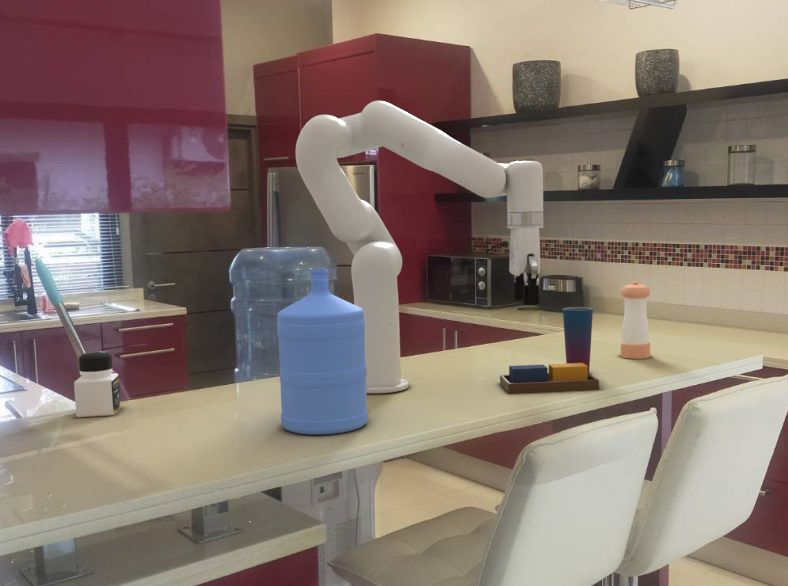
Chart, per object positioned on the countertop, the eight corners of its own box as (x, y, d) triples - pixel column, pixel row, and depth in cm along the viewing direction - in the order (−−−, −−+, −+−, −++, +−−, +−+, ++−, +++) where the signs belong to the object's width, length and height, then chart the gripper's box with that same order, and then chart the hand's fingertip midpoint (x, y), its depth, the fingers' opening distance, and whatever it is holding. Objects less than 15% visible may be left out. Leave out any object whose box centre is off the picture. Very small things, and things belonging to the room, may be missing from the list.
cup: (591, 370, 201) (591, 306, 200) (594, 376, 195) (594, 310, 193) (562, 370, 202) (561, 307, 200) (564, 376, 195) (563, 310, 194)
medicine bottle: (114, 415, 168) (110, 354, 167) (76, 417, 167) (71, 356, 165) (121, 407, 175) (117, 349, 174) (84, 409, 174) (80, 351, 172)
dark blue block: (512, 387, 182) (512, 369, 182) (509, 384, 186) (509, 365, 185) (547, 386, 183) (547, 367, 182) (543, 382, 187) (543, 364, 186)
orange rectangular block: (553, 386, 183) (552, 367, 182) (548, 382, 187) (548, 364, 186) (587, 384, 183) (587, 366, 183) (582, 380, 187) (582, 362, 187)
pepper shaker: (655, 355, 219) (655, 280, 217) (641, 359, 214) (641, 282, 212) (629, 353, 224) (629, 279, 222) (615, 357, 219) (615, 281, 216)
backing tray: (508, 393, 179) (508, 384, 179) (500, 383, 189) (499, 374, 189) (599, 389, 181) (599, 380, 180) (585, 380, 191) (585, 371, 190)
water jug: (384, 427, 153) (379, 269, 150) (302, 441, 145) (296, 275, 142) (344, 411, 167) (339, 266, 163) (267, 423, 158) (260, 271, 155)
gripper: (500, 221, 188) (501, 299, 190) (515, 222, 171) (516, 307, 173) (534, 220, 189) (534, 298, 191) (552, 221, 172) (553, 306, 174)
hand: (526, 302), depth 182 cm, fingers open, 9 cm apart
